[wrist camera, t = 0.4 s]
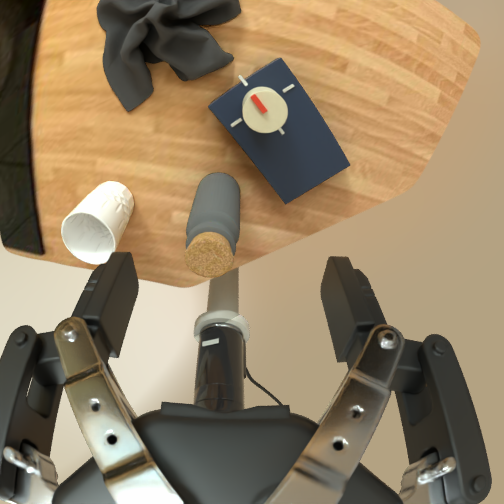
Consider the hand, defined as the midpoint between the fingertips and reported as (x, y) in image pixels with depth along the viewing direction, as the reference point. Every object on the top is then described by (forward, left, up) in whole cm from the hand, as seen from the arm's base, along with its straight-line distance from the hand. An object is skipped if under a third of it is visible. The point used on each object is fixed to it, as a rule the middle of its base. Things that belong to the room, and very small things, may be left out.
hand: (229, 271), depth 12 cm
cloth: (+16, 0, -28) cm, 32 cm away
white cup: (+2, +21, -28) cm, 35 cm away
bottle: (-6, +8, -28) cm, 30 cm away
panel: (-4, -4, -28) cm, 29 cm away
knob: (0, -4, -25) cm, 25 cm away
